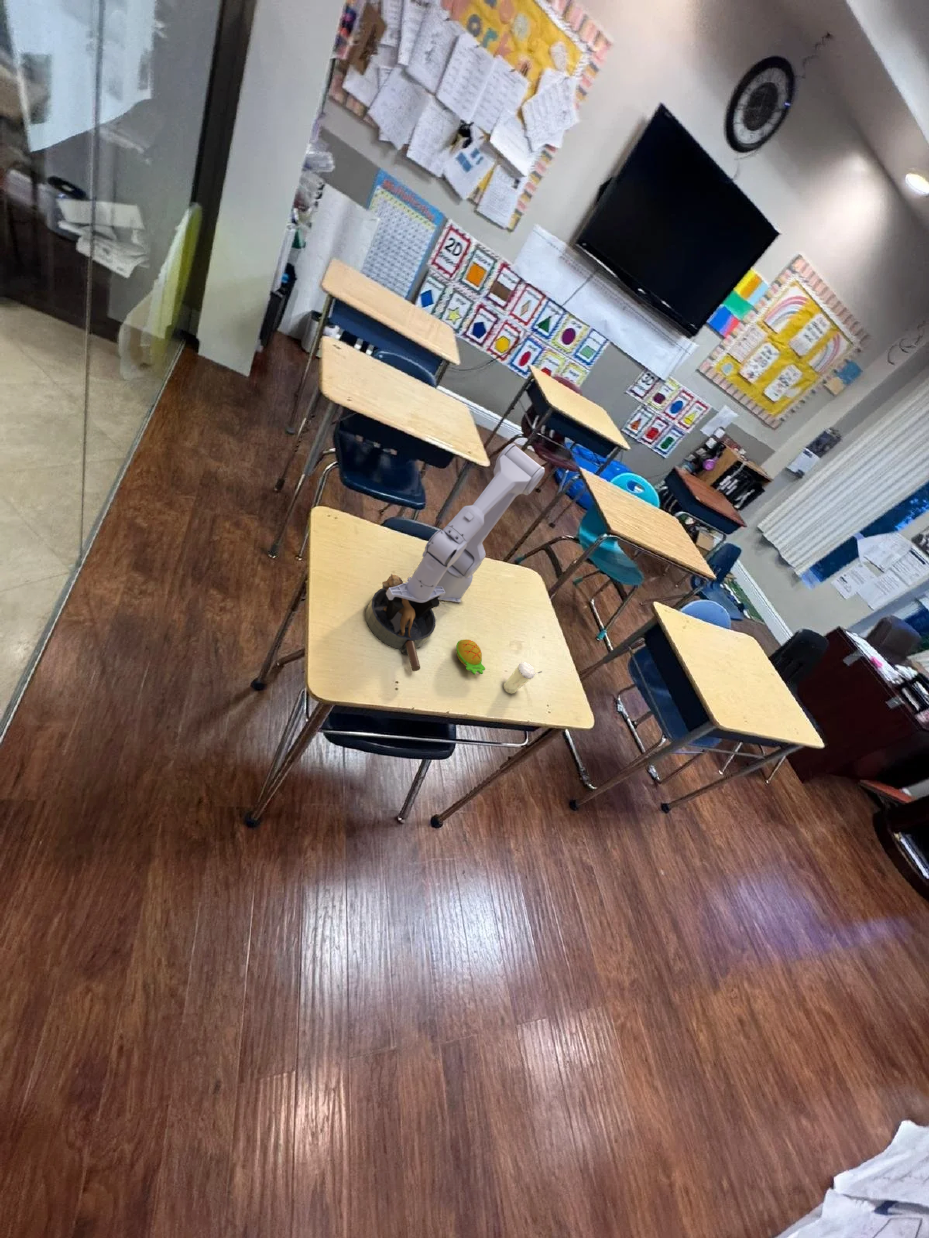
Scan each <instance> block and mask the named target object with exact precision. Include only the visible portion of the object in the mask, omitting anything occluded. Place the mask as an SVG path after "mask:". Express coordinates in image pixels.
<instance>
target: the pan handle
mask: <svg viewBox="0 0 929 1238" xmlns="http://www.w3.org/2000/svg"><path fill="white" fill-rule="evenodd" d="M400 650H401V654H402V655H407V657H408V661H409V665H410V670H411V671H412V672H417V671H420V669H421V664H420V661H419V660H420V659H419V657H418V651H417V649H416V648H415V644H414V641H407V642H406V643H405V645H404V646H403V648H402V649H400Z"/></svg>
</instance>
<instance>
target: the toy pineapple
mask: <svg viewBox="0 0 929 1238" xmlns="http://www.w3.org/2000/svg"><path fill="white" fill-rule="evenodd" d="M455 649H456V650H455V651H456V652H455V653H456V657H457V659H458V660H459V661H460V662H461V664H463V665H464V666H465V670H466V671H468V672H471V674H472V675H476V674H477V673H478V674H479V675H483V674H484V671H485V670H486V666H484V665H483V663H482V662H483V654H482V649H481V647H480V646H479V645H478V643H476V642H475V641H474V640H472V639H467V638H465V639H460V640H458V641H457V643H456V646H455Z"/></svg>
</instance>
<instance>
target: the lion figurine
mask: <svg viewBox="0 0 929 1238" xmlns="http://www.w3.org/2000/svg"><path fill="white" fill-rule="evenodd" d="M403 583H404V581H403V580H402V578H401V577H400V576H399V575H398V574H393V573H391V574H390V576H389V577H388V578H387V579H386V580H384V581H382V588H384V589H386V591H387V590H388V588H391V587H396V586H398V585H401V584H403ZM402 604H403V606H404V608H402V609H401V610H400V611H398V612H399V613H400V614H402V616H401V620H400V627H401V633H399V634H398V635H401V636H404V633H405V628H407V627H409V628H408V637H409V638H412V637H411V635H410V630H411V626H412V623H413V620H414V618H415V611H414V609H413V608H412V606H411V605H410V603H409V601H408V600H407V599H403V598H402ZM383 610H384V611H386V610H387V607H384V608H383Z"/></svg>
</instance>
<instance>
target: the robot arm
mask: <svg viewBox="0 0 929 1238" xmlns="http://www.w3.org/2000/svg"><path fill="white" fill-rule="evenodd" d="M545 471H546V470H545V467H544V466H542V465H540V464H539V463H538V462H536V461H535V460H534V459H533V458H532V457H530V456H529V455H528V454H527V453H525V452H524V451H523V450H522V449H521V448H519V446H517V444H515V443H514V442H512V443H509V444H508V445H506V446H505V447H504V448H503V449H502V451H501V452H500V453H499V455H498V457H497V458H496V461H495V466H494V468H493V478H492V479H491V480H490V481H489V483H488V484H487V485H486V487H485V488H484V490H483V491H482V492H481V493H480V495H479V496H478V497H477V498H476V500H475V501H474V502H473V504H471V505H464V506H463V507H461V509H460V510H459V512H458V513H456V515H455V516H454V517H452V519H451V520H450V521H449V522H448V523H447V524H446V525H445V526H444V528H443V529H438V530H437V531H435V532H434V534H432V536H431V537H430V538H429V540H428V541H427V543H426V544H425V547H424V550H423V553H422V559H421V560H420V562H419V564H418V565H417V567H416V568H415V571H414V572H413V573H412V575H411V576H409V577H408V578H407V581H405V582H403V584H401V585H398V586H396V587H391V588H388V590H387V592H386V595H387V597H388V604H387V610H386V616H387V618H388V620H392V619H393V618H394V616H395V615H396V614H397V612H398V611H400V610H401V609H402V608H404V606H403V604H402V598H403V599H407V600H411V601H415V602H418V603H417V604H416V606H415V608H414V611H415V617H416V618H419V617H421V616H422V615H423V614H424V613H426V612H427V611H429V610H430V609H432V610H433V609H434V608H437V607H439V606H440V604H441V601H445V602H452V603H458V604H459V603H461V602H462V597H463V596H464V595H465V593H466V592H467V591H468V590H469V588H470V587H471V585H472V583H473V579H474V574H475V573H476V572H477V571H478V569H479V568H480V567H481V565H482V563H483V562H484V559H485V558H486V555H487V554H486V550H485V547H484V545H483V542H484V541H485V540H486V539H487V537H488V535H489V534H490V533H491V532H492V530H493V529H494V527H495V526H496V525H497V523H498V522H499V520H500V519H501V518H502V516H503V515H504V514H505V512H506V511H507V510H508V508H509V507H510V505H511V504H512V503H513V502H514V500H515V499H516V497H518V496H519V495H524V496H529V495H530V494H531V493H532V492H533V491H534V489H535V488H536V486H538V484H539V482H540V481H541V480H542V479H543V477H544V475H545Z"/></svg>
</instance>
